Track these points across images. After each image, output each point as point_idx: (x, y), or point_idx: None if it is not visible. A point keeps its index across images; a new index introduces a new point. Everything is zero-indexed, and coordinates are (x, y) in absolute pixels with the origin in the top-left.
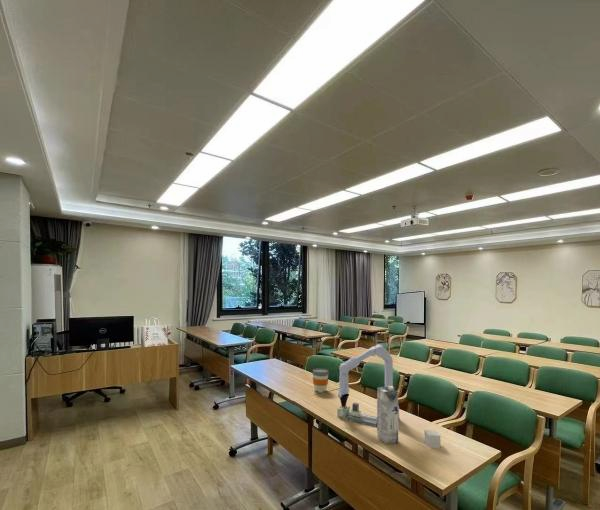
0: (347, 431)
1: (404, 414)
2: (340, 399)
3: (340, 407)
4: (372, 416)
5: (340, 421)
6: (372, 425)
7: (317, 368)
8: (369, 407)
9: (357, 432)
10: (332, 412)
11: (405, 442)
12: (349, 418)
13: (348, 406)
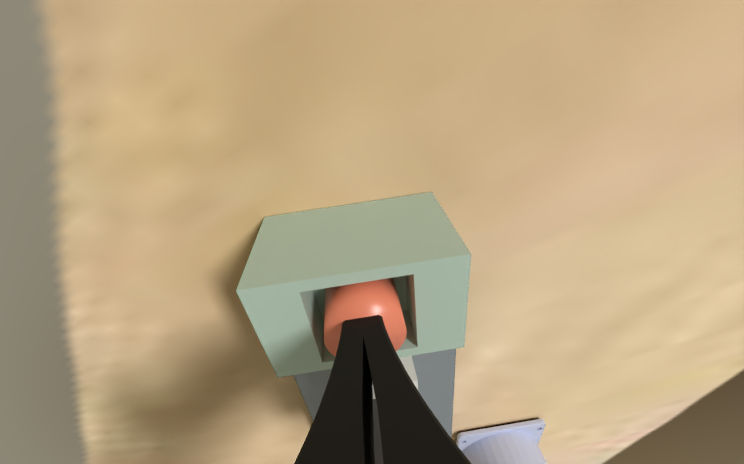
0: (88, 409)
1: (603, 451)
2: (302, 454)
3: (345, 277)
4: (446, 424)
5: (191, 296)
6: None
7: None
8: (691, 307)
9: (152, 440)
10: (355, 72)
11: None
12: None
13: (437, 345)
